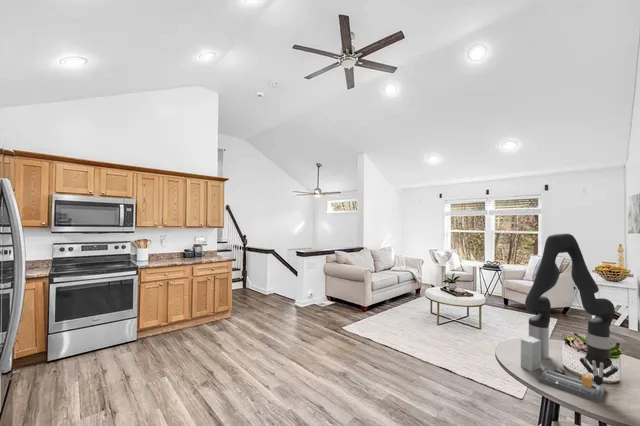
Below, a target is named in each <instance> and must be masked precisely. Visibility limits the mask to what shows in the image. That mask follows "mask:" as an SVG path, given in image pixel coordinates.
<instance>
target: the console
mask: <svg viewBox="0 0 640 426" xmlns="http://www.w3.org/2000/svg"><path fill="white" fill-rule="evenodd" d="M537 381H538V382H540V383H542V384H545V385H547V386H551V387H554V388H557V389H560V390H562V391H564V392H569V393H571V394H573V395H577V396H580V397H581V398H586V399H587V400H591V401H594V402H595V403H596V402H597V403H599V404H601V403H602V401H603V399H604V395H605V393H606V386H605V385H603V384H602V385H597V384H596V383H595V382H594V381H593V384H592V388H590V387H587V386H584V385H582V376H580V377H578V376H574V375H572V374H568V373H566V371H565V370H564V369H562V368H558V367H554V368H549V367H544V369H543V371H541V373H540V374H539V376H538V377H537Z"/></svg>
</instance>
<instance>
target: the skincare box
mask: <svg viewBox="0 0 640 426" xmlns="http://www.w3.org/2000/svg"><path fill="white" fill-rule="evenodd" d="M520 367H521V368H523V369H525V370H527V371H530V372H531V373H532V372H535V371H537V370H539V369H541V368H542V359H541V340H539V339H536V338H534V337H531V336H529V335H528V336H526V337H524V338H521V339H520Z"/></svg>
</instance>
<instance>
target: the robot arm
mask: <svg viewBox="0 0 640 426" xmlns="http://www.w3.org/2000/svg"><path fill="white" fill-rule="evenodd" d="M542 253H543V254H542V257H541V261H540V264H539V267H538V269H537V271H536V274H535V277H534V281H533V284H532V286H531V289H530V290H529V292H528V294H527V295H526V298H525V301H524V307H525V310H526V311H527V312H529V313H532V314H536V315H534V316H531V317H529V319H528V337H529V336H531V337H534V338H536V339H539V340H541V360H548V359H549V358H550V357H549V356H550V347H549V346H550V322H551V313H552V312H551V311H552V310H551V309H552V306H551V301H550V299H549V298H548V297H547V296H543V295H544V294H545V293H547V292H549V291H551V289H553V288H554V287H555V286H556V284H557V283H558V280H559V277H560V270H559V269H560V268H559V267H558V265H557V262H556V260H557V257H558V255H559V254H563V253H567V254H568V255H569V258H570V260H571V271H570V273H571V279H572V280H573V283H574V285H575V286H576V288H577V290H578V292H579V298H580V300H581V305H582V308H583V309H584V310H585V312H586V313H587V314H589V315H590V316H594V317H593V318H592V319H589V320H588V321H587V336H586V354H585V356H584V357H580V358H579V362H580V363H581V364H582V366H583V367H584V369H586V371H587V372H588V373H589V374H592V376H593V382H594V383H596V384H597V385H603V384H604V378H610V377H612V376H613V375H614V374H616V373H618V371H619V367H617V366H615V365H614V364H613V361H612V360H611V335H610V333H611V331H610V328H611V324H612V322H613V319H614V316H615V313H616V310H615V305H614V303H612V301H611V300H610V299H607V298H601V297H600V298H596V296H595V294H597V293H598V292H599V290H600V289H599V286H598V284H597V282H596V281H595V279H594V278H593V276H592V275H591V273H590V271H589V269H588V266H587V264H586V262H585V259H584V255H583V254H582V253H583V252H582V250H581V248H580V246H579V243H578V241H577V239H576V237H575V236H574V235H572V234H571V233H557V234H550V235H549V236H547V238H546V240H545V244H544V249H543V252H542ZM590 365H591V366H590ZM608 368H609V370H608V371H606V372H604V370H606V369H608Z"/></svg>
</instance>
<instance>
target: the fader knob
mask: <svg viewBox="0 0 640 426" xmlns="http://www.w3.org/2000/svg"><path fill="white" fill-rule="evenodd" d="M581 377H582V385H584V386H587V387H590V388H592V384H593V382H594V375H591V374H587V373H585V372H584V373H583V374H582V376H581Z"/></svg>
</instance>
